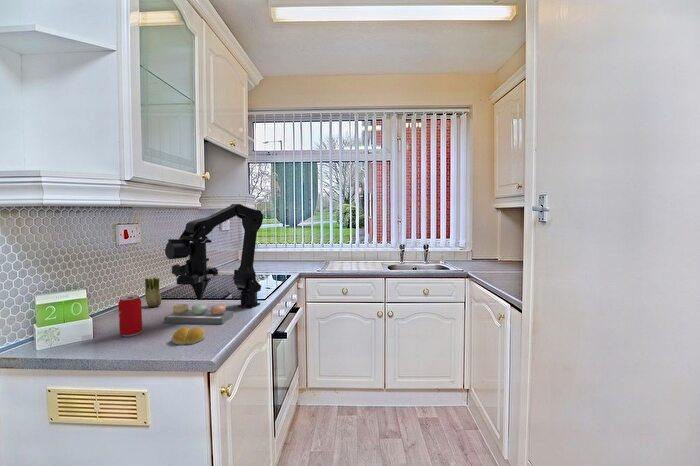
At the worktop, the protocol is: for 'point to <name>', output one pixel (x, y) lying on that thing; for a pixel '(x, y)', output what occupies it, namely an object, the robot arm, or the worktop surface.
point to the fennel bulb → (152, 292)
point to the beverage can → (130, 315)
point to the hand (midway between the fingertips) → (199, 299)
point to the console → (198, 317)
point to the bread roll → (188, 336)
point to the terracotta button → (218, 309)
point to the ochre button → (180, 308)
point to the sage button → (199, 308)
